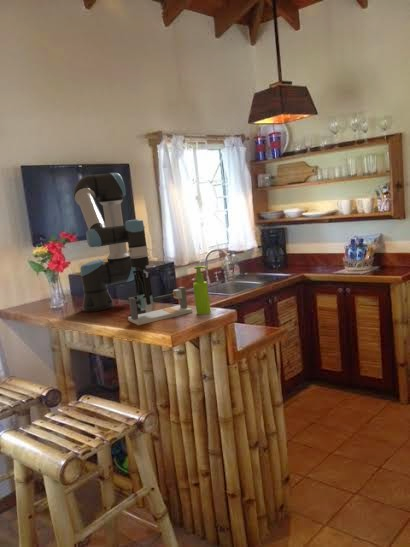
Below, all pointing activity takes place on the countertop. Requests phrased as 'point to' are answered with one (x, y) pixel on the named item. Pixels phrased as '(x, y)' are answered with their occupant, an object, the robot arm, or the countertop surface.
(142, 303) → the marker sleeve
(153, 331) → the countertop surface
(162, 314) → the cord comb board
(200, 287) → the soap dispenser
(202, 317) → the countertop surface
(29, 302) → the countertop surface
